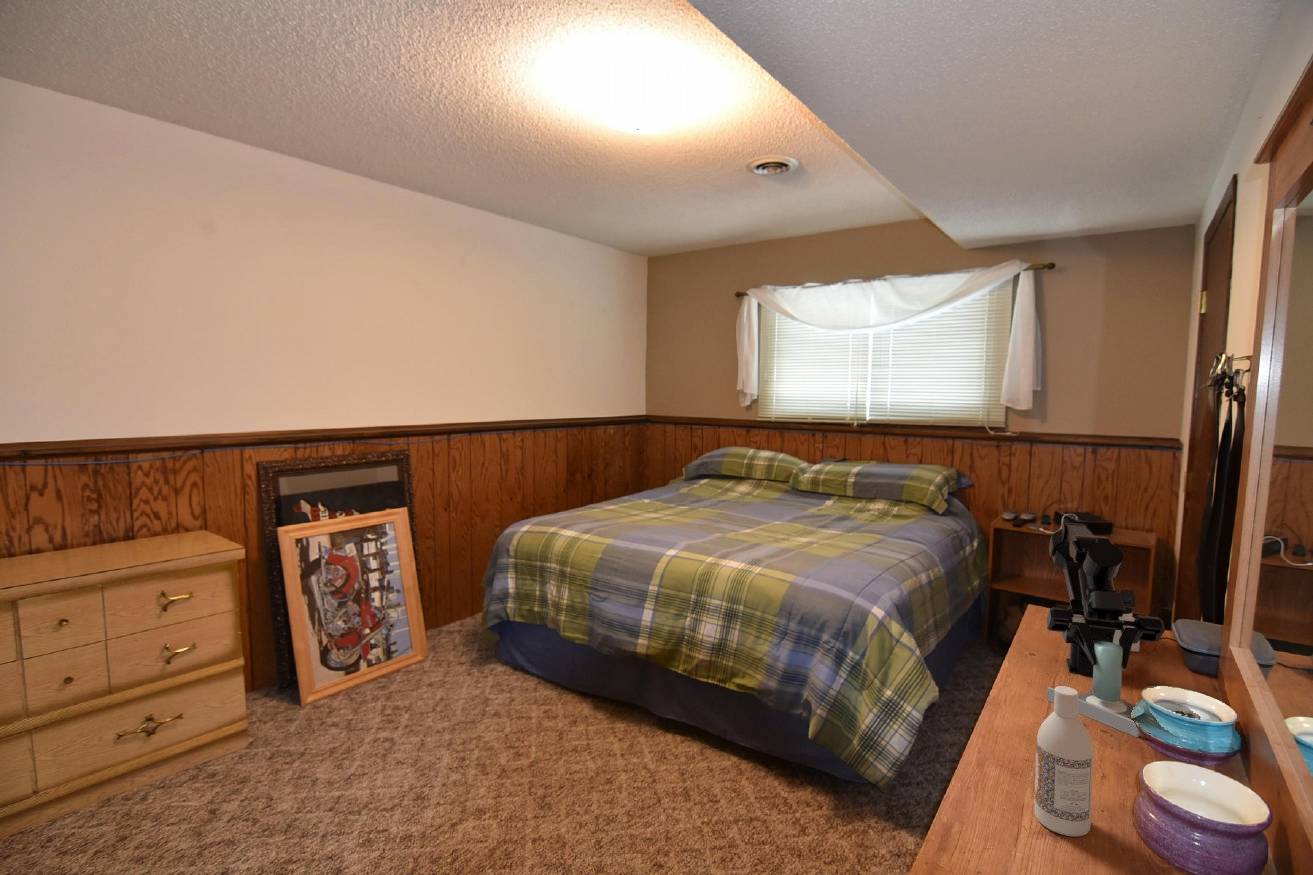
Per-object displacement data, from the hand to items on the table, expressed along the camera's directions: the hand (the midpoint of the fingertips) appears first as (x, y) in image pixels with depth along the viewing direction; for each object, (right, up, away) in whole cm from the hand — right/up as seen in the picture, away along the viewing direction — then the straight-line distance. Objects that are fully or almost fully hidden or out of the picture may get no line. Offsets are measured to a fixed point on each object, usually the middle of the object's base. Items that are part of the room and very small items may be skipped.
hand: (1109, 666), depth 124 cm
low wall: (-4, -9, -1) cm, 10 cm away
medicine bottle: (+23, -6, +31) cm, 40 cm away
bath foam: (-27, -13, -29) cm, 42 cm away
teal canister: (+1, -6, +2) cm, 7 cm away
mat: (+1, -9, +2) cm, 9 cm away
